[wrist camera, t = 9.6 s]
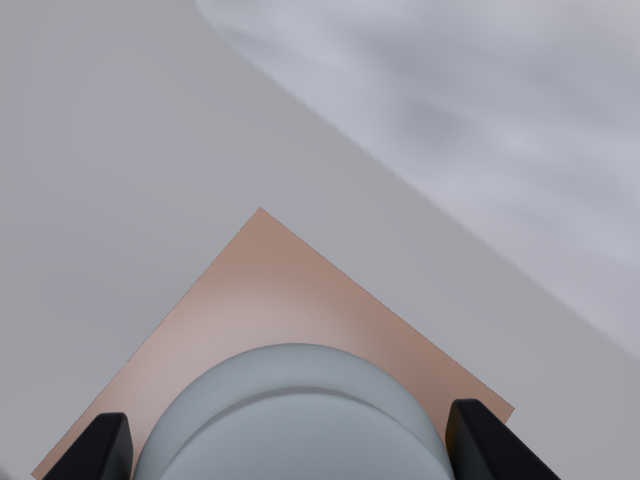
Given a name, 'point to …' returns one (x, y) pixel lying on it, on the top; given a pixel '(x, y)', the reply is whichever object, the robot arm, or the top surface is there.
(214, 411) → the supplement bottle
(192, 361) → the terracotta tile
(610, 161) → the top surface
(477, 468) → the robot arm
